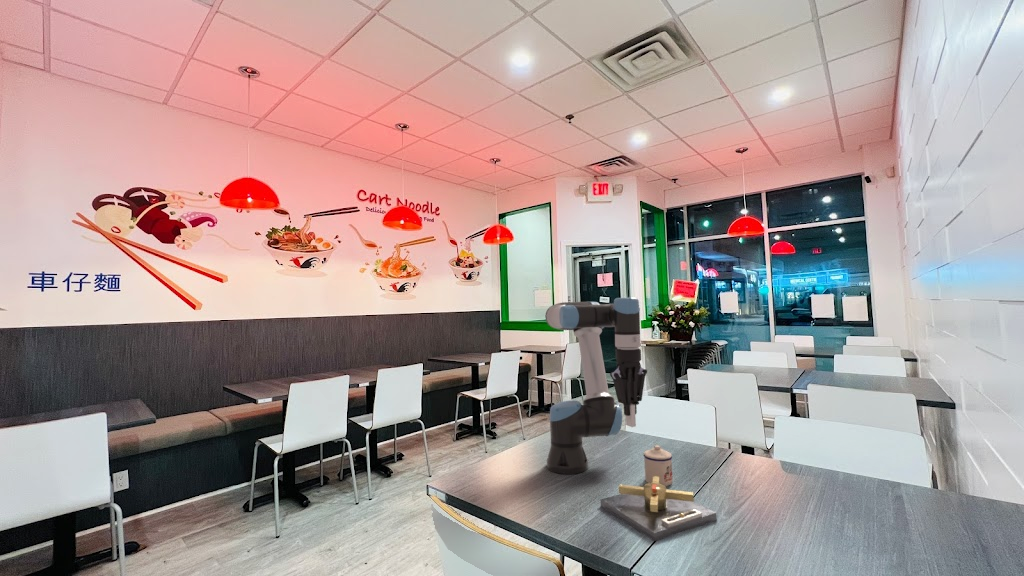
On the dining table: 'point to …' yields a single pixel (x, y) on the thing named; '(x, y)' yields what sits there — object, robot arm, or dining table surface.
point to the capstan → (656, 494)
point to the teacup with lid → (658, 465)
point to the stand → (658, 515)
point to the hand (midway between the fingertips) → (630, 425)
